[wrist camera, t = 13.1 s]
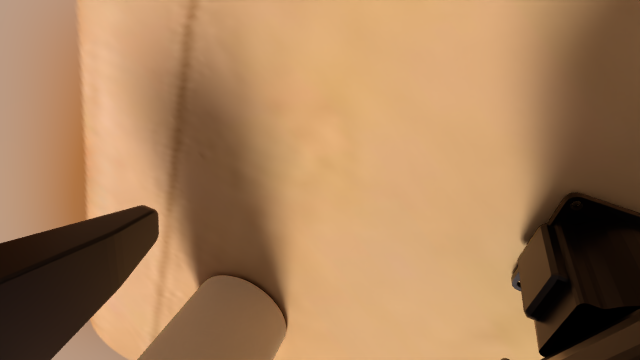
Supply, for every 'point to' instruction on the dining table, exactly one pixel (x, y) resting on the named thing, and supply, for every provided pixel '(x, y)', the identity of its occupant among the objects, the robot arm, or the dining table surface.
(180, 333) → the travel mug
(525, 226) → the dining table surface
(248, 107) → the dining table surface
